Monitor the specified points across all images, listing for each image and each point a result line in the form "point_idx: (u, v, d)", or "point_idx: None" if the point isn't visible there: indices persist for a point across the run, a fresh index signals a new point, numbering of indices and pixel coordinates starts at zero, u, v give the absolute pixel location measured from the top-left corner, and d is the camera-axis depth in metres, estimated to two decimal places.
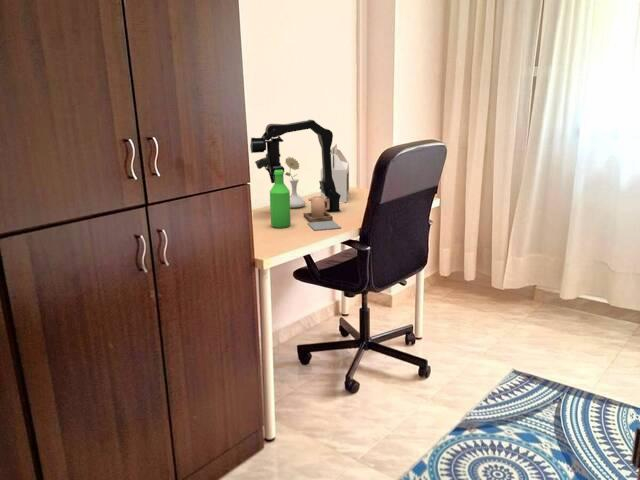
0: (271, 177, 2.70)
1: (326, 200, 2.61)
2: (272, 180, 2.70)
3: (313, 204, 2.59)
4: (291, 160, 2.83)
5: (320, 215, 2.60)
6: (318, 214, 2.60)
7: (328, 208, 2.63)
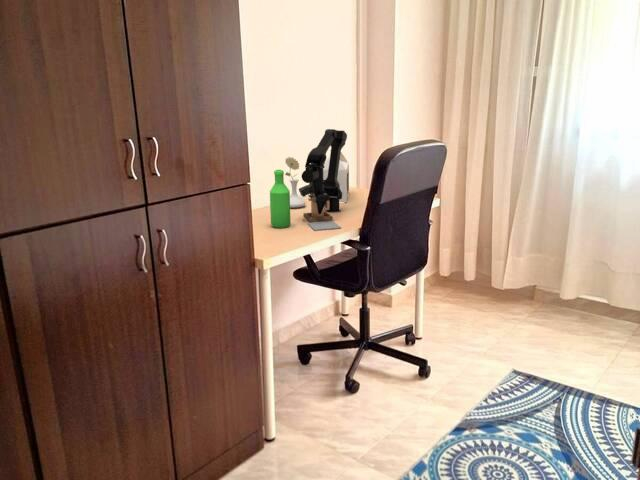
0: None
1: None
2: None
3: (313, 204, 2.59)
4: (291, 160, 2.83)
5: (320, 215, 2.60)
6: (318, 214, 2.60)
7: (328, 208, 2.63)
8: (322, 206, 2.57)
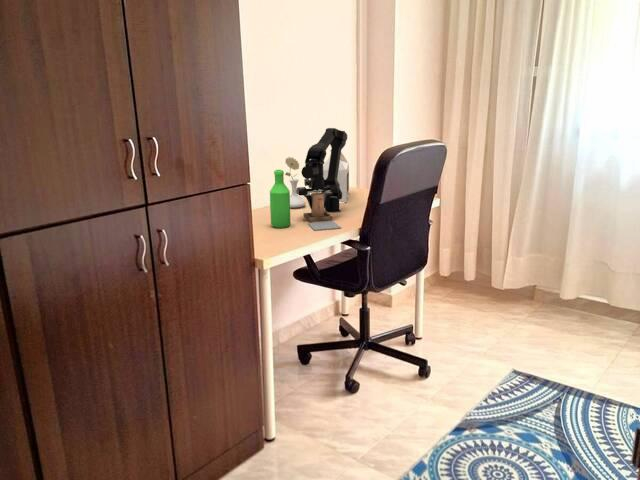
0: (324, 201, 2.62)
1: (318, 198, 2.56)
2: None
3: None
4: (291, 160, 2.83)
5: (311, 210, 2.61)
6: (311, 209, 2.62)
7: (319, 207, 2.57)
8: (308, 201, 2.59)
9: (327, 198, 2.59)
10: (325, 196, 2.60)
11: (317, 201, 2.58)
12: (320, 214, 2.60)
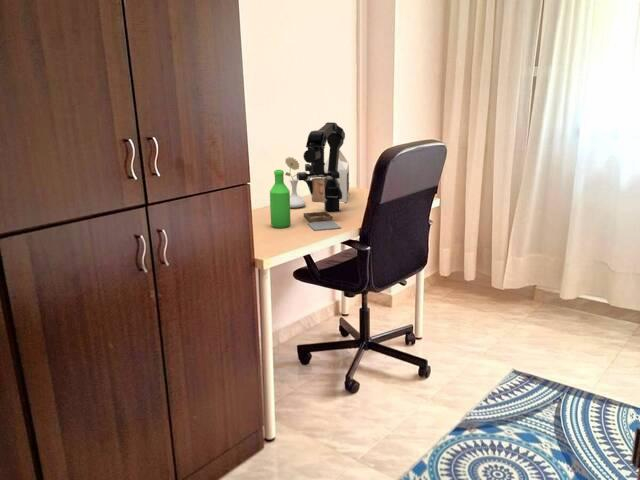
0: None
1: (319, 184, 2.52)
2: None
3: None
4: (291, 160, 2.83)
5: (312, 196, 2.56)
6: None
7: (319, 192, 2.52)
8: (309, 187, 2.54)
9: (328, 184, 2.54)
10: (326, 182, 2.55)
11: (317, 186, 2.53)
12: (320, 200, 2.55)
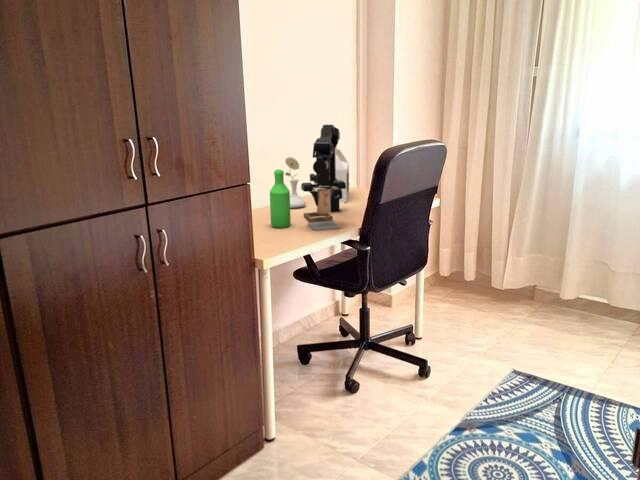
0: None
1: (325, 195, 2.42)
2: None
3: None
4: (291, 160, 2.83)
5: (317, 207, 2.46)
6: None
7: (325, 204, 2.42)
8: (314, 198, 2.44)
9: (334, 194, 2.45)
10: (332, 192, 2.46)
11: (323, 197, 2.43)
12: (326, 211, 2.45)
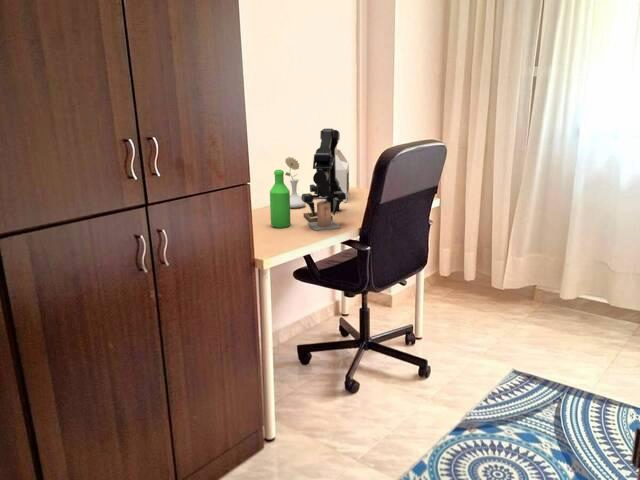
0: (333, 208, 2.49)
1: (325, 208, 2.44)
2: (333, 212, 2.49)
3: None
4: (291, 160, 2.83)
5: (317, 220, 2.48)
6: (317, 219, 2.49)
7: (325, 217, 2.44)
8: (311, 209, 2.45)
9: (337, 205, 2.47)
10: (335, 203, 2.47)
11: (323, 211, 2.45)
12: (326, 224, 2.47)
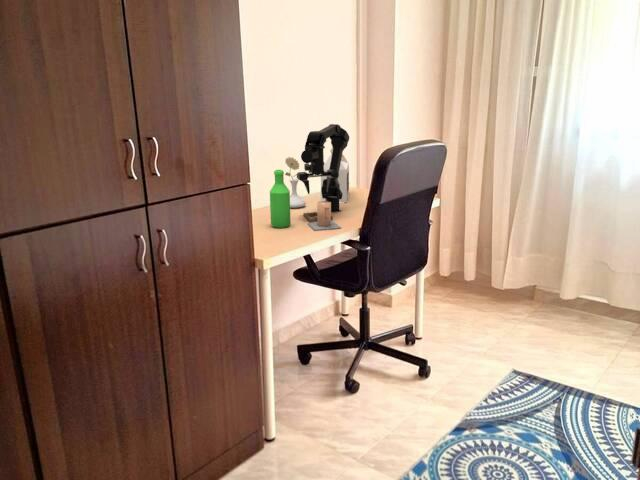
0: (327, 186, 2.63)
1: (325, 208, 2.44)
2: (327, 189, 2.63)
3: None
4: (291, 160, 2.83)
5: (318, 220, 2.48)
6: (317, 218, 2.49)
7: (326, 217, 2.44)
8: (306, 186, 2.58)
9: (330, 182, 2.60)
10: (328, 180, 2.61)
11: (324, 211, 2.45)
12: (326, 224, 2.47)
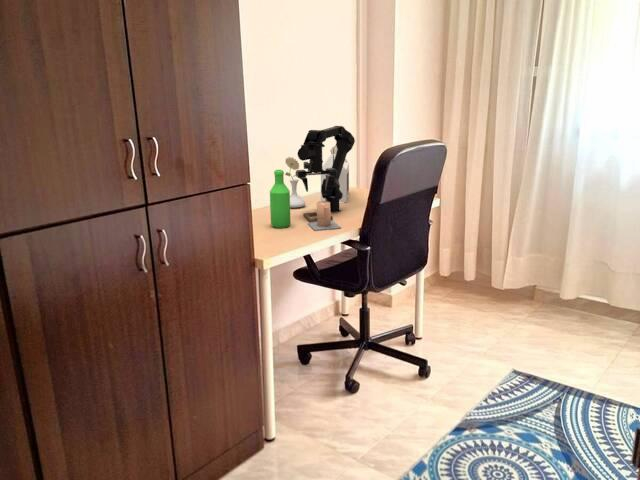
0: (325, 184, 2.65)
1: (325, 208, 2.43)
2: (325, 187, 2.65)
3: None
4: (291, 160, 2.83)
5: (317, 221, 2.48)
6: (317, 219, 2.49)
7: (325, 217, 2.44)
8: (304, 184, 2.61)
9: (329, 180, 2.62)
10: (327, 179, 2.63)
11: (323, 211, 2.45)
12: (327, 224, 2.47)
